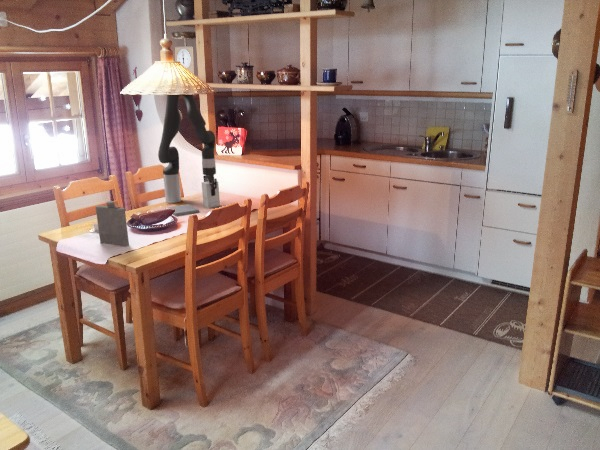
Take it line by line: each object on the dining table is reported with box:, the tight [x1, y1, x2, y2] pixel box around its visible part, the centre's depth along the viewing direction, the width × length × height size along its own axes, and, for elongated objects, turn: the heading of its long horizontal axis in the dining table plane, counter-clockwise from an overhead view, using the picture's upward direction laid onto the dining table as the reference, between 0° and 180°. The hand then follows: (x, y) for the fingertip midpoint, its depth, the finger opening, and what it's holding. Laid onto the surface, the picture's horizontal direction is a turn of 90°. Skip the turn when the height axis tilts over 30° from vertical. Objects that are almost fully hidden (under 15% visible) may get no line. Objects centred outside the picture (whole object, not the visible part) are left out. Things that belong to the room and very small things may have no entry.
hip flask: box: [95, 200, 130, 247], centre depth 243 cm, size 16×4×20 cm, turn 67°
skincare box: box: [201, 180, 221, 209], centre depth 307 cm, size 8×6×15 cm
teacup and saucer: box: [89, 222, 99, 233], centre depth 266 cm, size 9×8×4 cm
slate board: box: [166, 203, 200, 217], centre depth 300 cm, size 16×14×2 cm
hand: (211, 194), depth 307 cm, fingers closed on skincare box, 6 cm apart
